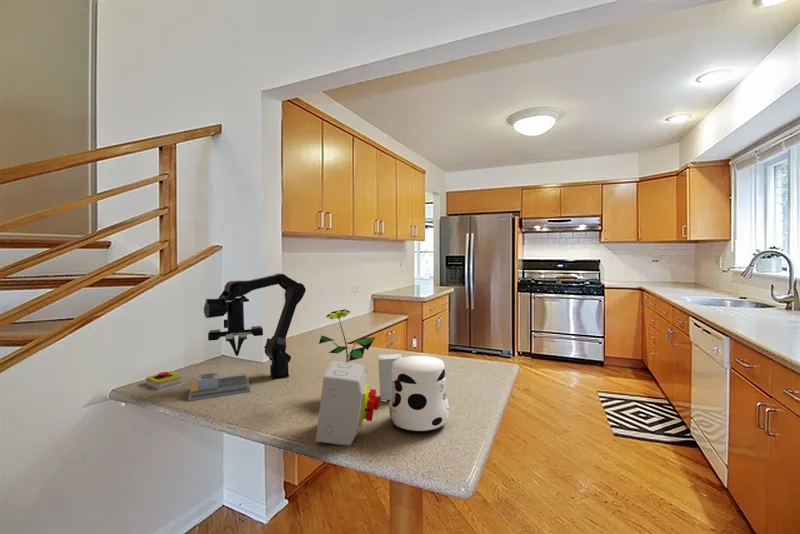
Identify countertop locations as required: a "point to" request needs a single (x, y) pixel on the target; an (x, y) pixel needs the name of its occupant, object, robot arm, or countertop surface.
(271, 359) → the robot arm
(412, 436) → the countertop surface
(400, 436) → the countertop surface
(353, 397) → the electrical switch box
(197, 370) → the countertop surface
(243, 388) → the rail plate
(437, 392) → the cow print canister
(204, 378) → the block
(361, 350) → the potted plant
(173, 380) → the emergency button
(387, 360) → the skincare box
